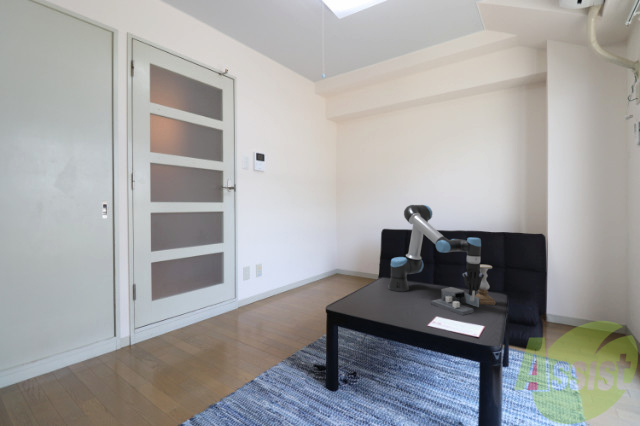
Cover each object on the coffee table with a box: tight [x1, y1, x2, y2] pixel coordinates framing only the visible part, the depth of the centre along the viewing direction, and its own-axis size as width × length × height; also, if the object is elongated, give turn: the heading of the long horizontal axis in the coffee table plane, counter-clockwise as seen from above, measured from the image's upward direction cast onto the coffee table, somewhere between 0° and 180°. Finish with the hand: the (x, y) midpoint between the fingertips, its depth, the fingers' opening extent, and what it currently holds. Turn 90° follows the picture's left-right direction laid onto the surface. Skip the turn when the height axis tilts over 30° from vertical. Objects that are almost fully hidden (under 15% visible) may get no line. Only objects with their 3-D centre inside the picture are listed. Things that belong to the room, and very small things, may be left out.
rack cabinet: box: [440, 286, 466, 305], centre depth 187 cm, size 10×10×8 cm
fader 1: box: [446, 296, 452, 302], centre depth 181 cm, size 2×3×3 cm
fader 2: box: [453, 301, 461, 308], centre depth 171 cm, size 2×3×3 cm
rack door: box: [464, 292, 480, 308], centre depth 180 cm, size 3×10×7 cm, turn 20°
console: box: [430, 298, 474, 316], centre depth 176 cm, size 22×10×2 cm, turn 29°
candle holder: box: [474, 263, 496, 306], centre depth 188 cm, size 11×11×24 cm
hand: (472, 300), depth 178 cm, fingers closed
